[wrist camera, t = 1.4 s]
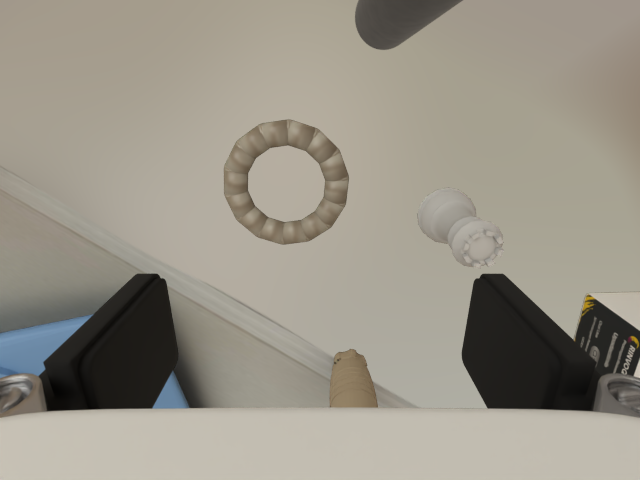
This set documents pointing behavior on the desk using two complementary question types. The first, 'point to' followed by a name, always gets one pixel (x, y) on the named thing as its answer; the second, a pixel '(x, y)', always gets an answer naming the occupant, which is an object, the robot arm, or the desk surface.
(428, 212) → the rook chess piece
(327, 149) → the segmented ring
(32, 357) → the blue island diorama
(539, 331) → the robot arm
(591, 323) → the medicine bottle
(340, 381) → the handle
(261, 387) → the desk surface
